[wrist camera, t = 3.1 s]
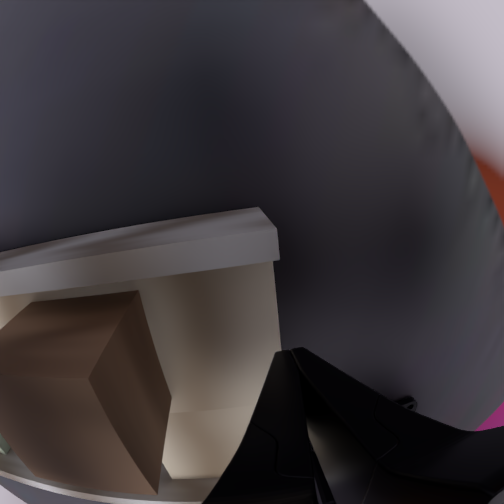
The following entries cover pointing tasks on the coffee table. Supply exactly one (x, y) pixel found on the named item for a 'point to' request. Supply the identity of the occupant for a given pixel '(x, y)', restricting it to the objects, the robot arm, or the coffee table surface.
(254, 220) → the grey slotted tray
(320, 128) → the coffee table surface
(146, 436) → the walnut block
